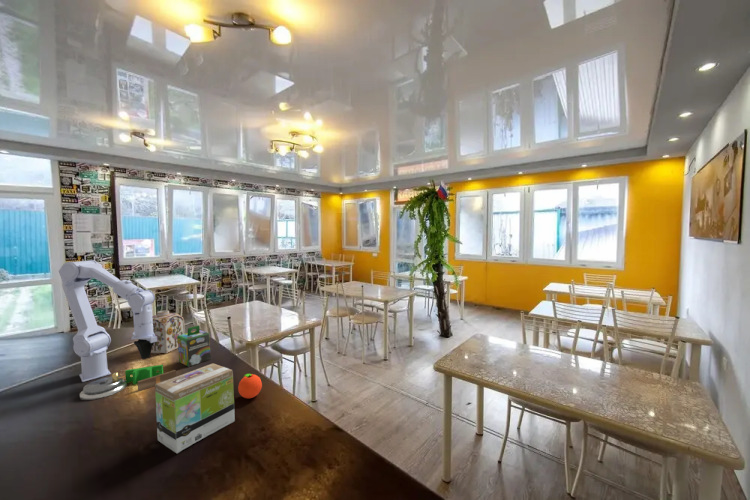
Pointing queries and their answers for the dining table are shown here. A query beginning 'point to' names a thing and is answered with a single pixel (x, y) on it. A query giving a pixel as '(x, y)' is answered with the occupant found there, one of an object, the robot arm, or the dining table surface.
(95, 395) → the base plate
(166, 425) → the tea box
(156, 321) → the decorative jar
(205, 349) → the chalk box
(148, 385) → the bar
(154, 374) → the pipe clamp
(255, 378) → the clementine
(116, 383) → the index disc
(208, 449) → the dining table surface
